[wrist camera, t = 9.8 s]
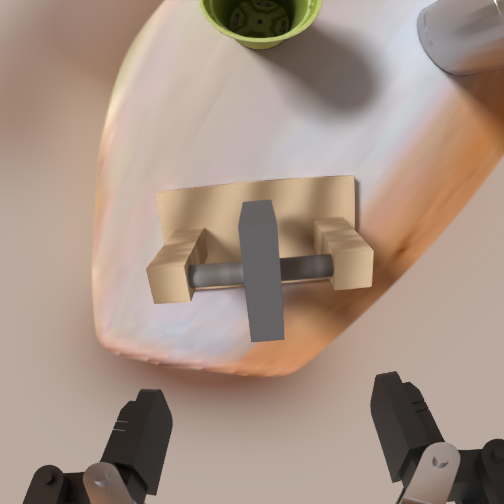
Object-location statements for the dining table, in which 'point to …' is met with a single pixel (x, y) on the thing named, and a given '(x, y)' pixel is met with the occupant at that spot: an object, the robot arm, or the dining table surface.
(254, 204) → the rubber u
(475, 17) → the robot arm
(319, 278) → the bar rack
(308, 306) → the dining table surface
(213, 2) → the plant pot
